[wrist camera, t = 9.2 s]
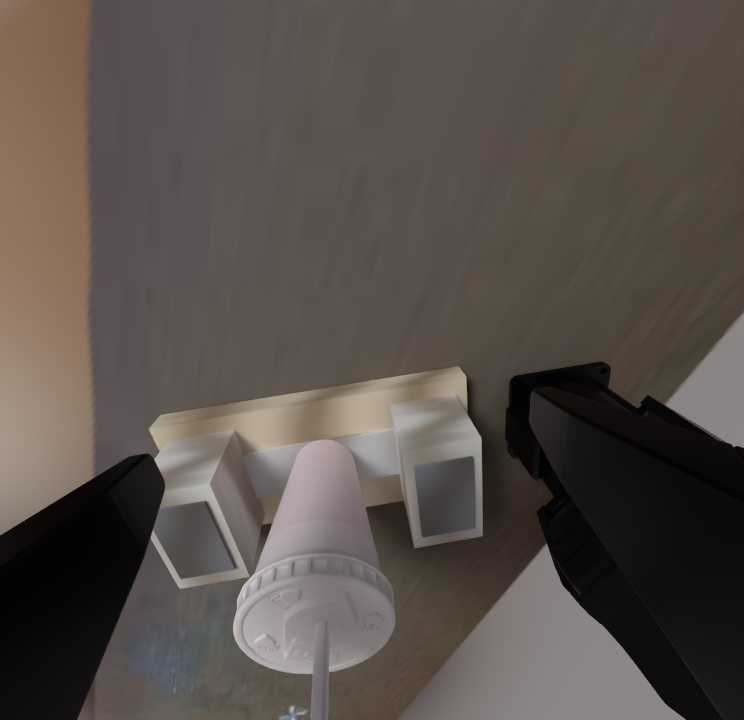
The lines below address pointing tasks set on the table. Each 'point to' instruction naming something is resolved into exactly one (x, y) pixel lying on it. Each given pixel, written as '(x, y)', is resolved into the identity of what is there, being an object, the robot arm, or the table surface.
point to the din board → (278, 454)
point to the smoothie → (317, 578)
